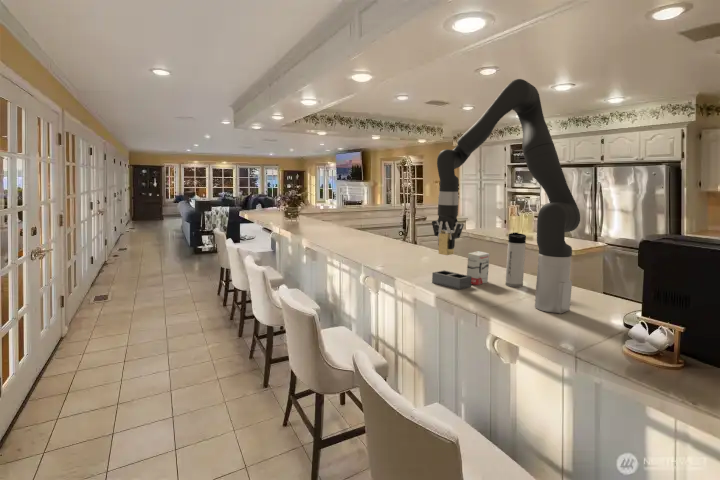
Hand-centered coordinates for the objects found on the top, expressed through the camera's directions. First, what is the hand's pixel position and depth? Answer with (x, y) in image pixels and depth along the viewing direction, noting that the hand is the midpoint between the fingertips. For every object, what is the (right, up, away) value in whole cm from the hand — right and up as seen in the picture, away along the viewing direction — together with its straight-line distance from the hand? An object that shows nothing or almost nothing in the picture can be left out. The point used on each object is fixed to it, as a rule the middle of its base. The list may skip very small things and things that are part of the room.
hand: (446, 248), depth 158 cm
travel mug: (+26, -14, 0) cm, 30 cm away
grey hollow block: (+2, -14, -1) cm, 14 cm away
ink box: (+13, -14, +3) cm, 19 cm away
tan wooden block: (0, -2, 0) cm, 2 cm away
